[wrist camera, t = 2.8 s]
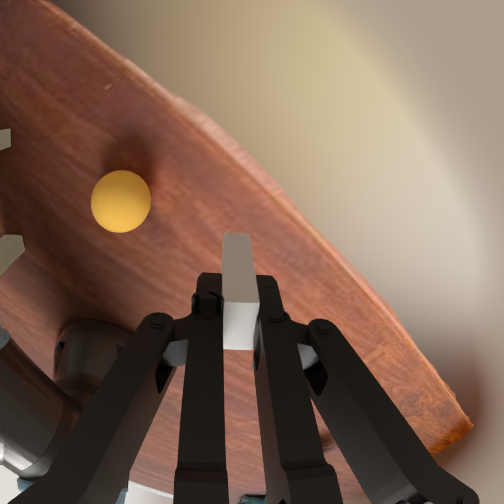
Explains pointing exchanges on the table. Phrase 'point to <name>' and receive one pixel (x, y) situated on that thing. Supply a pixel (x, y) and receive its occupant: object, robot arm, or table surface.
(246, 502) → the figurine
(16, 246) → the bridge
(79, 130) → the table surface
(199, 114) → the table surface
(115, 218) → the ball
